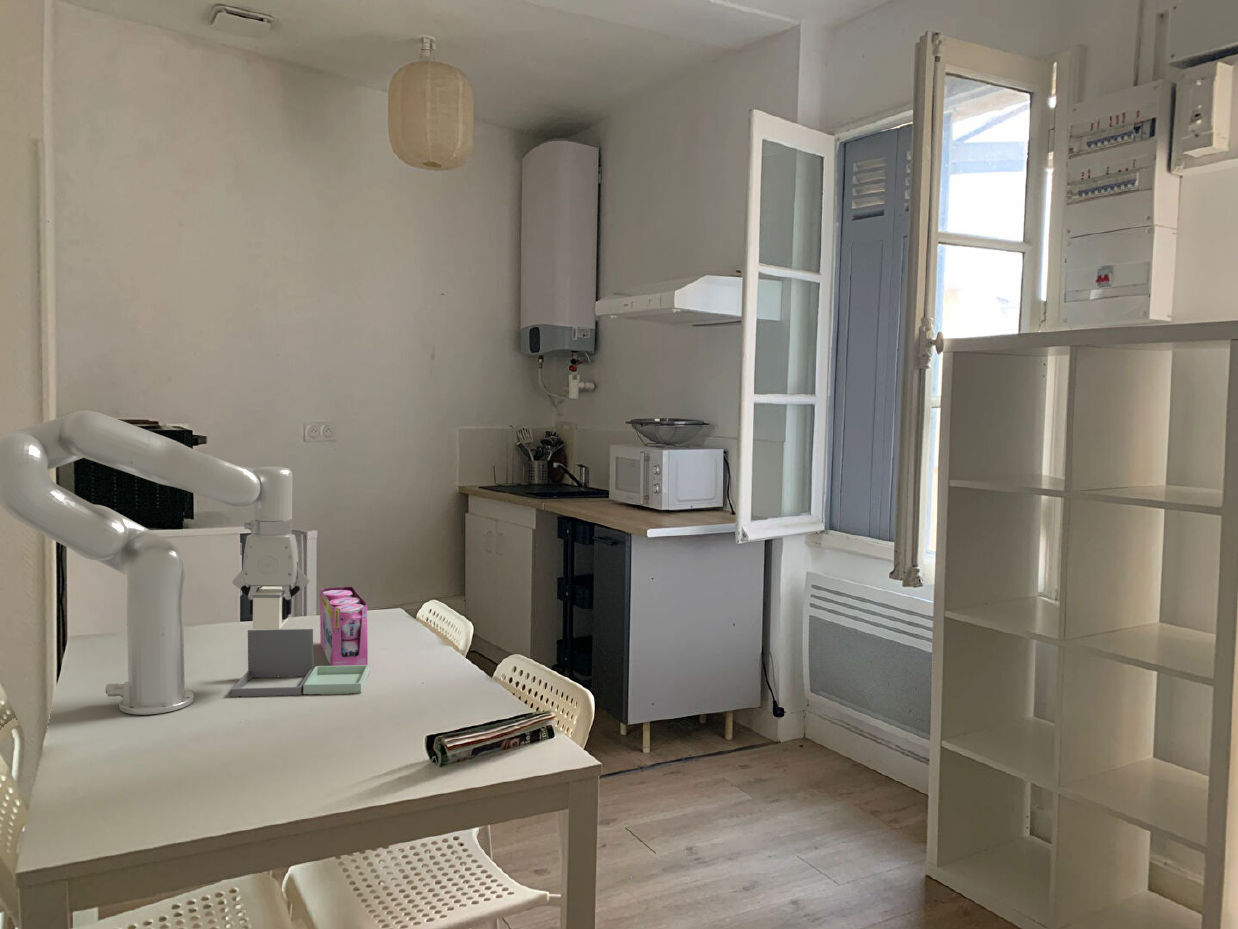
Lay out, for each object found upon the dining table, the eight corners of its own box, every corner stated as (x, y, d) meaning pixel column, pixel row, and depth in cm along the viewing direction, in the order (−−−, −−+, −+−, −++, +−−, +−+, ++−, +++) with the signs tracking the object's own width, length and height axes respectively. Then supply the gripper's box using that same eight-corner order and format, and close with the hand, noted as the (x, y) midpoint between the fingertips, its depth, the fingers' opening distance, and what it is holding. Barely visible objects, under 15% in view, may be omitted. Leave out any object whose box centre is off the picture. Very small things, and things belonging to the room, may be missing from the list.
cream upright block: (252, 629, 181) (252, 594, 181) (262, 620, 190) (262, 586, 189) (279, 629, 182) (280, 594, 182) (288, 620, 190) (289, 586, 190)
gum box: (370, 667, 201) (369, 606, 200) (332, 671, 198) (332, 609, 197) (353, 641, 223) (353, 585, 222) (319, 644, 219) (318, 588, 219)
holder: (231, 697, 180) (230, 646, 179) (248, 677, 193) (248, 630, 192) (300, 695, 181) (300, 645, 181) (313, 675, 194) (313, 628, 194)
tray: (303, 695, 182) (303, 685, 181) (315, 675, 194) (315, 666, 194) (360, 693, 183) (360, 683, 183) (369, 674, 196) (369, 665, 196)
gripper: (222, 530, 180) (221, 622, 181) (312, 531, 182) (311, 622, 183) (232, 525, 187) (231, 614, 188) (319, 526, 190) (318, 614, 191)
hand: (270, 617), depth 186 cm, fingers closed on cream upright block, 5 cm apart
